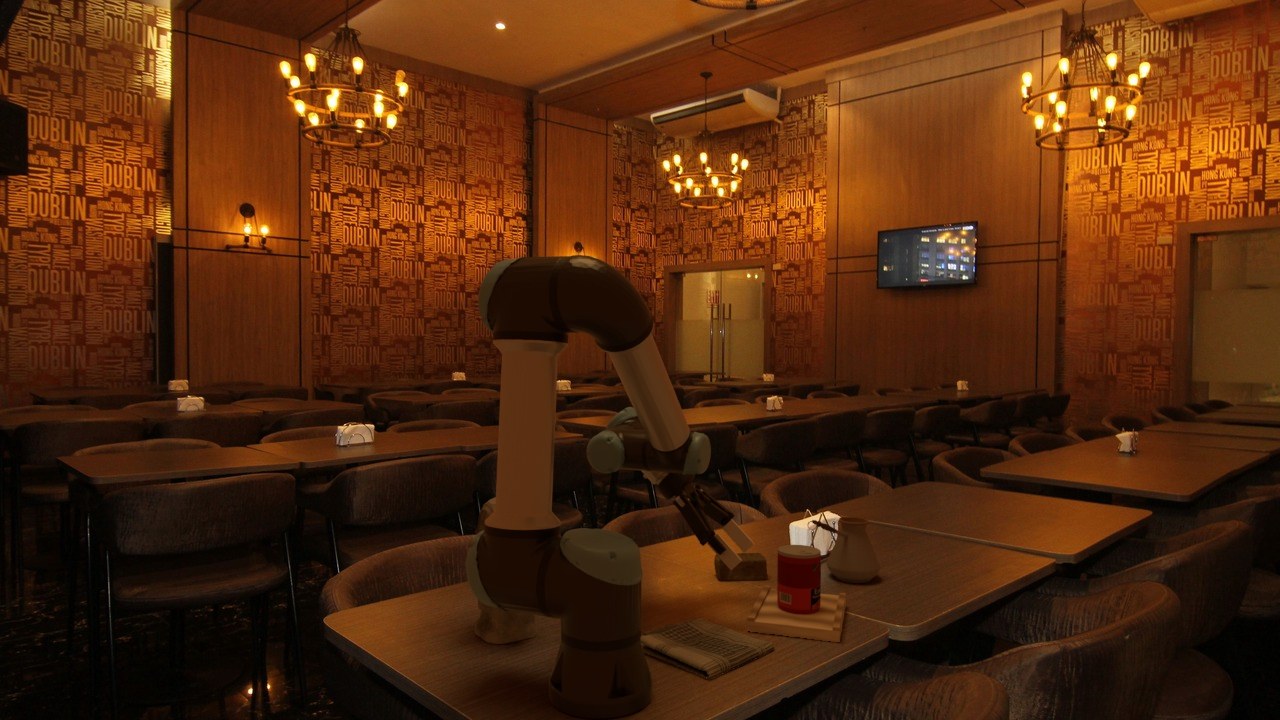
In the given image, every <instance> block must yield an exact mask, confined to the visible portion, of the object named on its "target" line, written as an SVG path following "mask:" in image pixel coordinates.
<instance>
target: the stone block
mask: <svg viewBox="0 0 1280 720" xmlns="http://www.w3.org/2000/svg"><path fill="white" fill-rule="evenodd" d="M735 553H736V552H735ZM736 554H737V555H738V556H739V557H740V558H741V559H742V561H741V562H740V563H739V564H738V565H737V566H736V567H734V568H733V569H732V570H730V569H729V568H728V567H727V565H726V564H725V563H724V562H723V561H722V560H721V559H720V558H719V556H718V555H717V554H716V553H715V555H714V562H713V563H714V570H715V574H716V577H717V579H718V580H719V581H722V582H723V581H724V582H732V581H733V582H736V581H739V582H740V581H764V580H765V581H766V580H767V579H768V567H767V566H768V565H767V558H766V557H765V556H764V555H763V554H762V553H761V552H745V553H744V552H740V553H739V552H738V553H736Z"/></svg>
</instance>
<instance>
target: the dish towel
mask: <svg viewBox="0 0 1280 720" xmlns="http://www.w3.org/2000/svg"><path fill="white" fill-rule="evenodd" d="M641 645H642V648H643V651H644V654H646V655H648V656H650V655H651V657H654V658H655V657H656V659H658V660H660V659H661V660H660V661H663V660H664V661H663V662H665V661H666V663H668V662H669V663H668V664H670V663H671V665H673V666H675V667H677V666H678V668H679V667H680V668H679V669H682V670H685V671H686V670H687V672H689V671H690V672H689V673H691V672H692V673H691V674H694V673H695V674H694V675H696V674H697V676H699V675H700V676H699V677H701V676H703V677H704V678H703V677H702V678H703V679H705V678H706V677H707V679H710V680H712V678H713V679H715V678H717V677H719V676H718V675H720V676H721V674H722V673H724V674H726V673H728V672H727V671H729V670H731V669H733V668H735V669H737V668H736V667H738V666H740V665H742V664H744V665H746V664H747V663H746V662H748V663H750V662H749V661H751V660H753V659H755V658H758V657H760V656H762V655H764V654H767V653H768V654H770V653H771V652H770V651H772V650H774V651H775V647H774V644H773V642H772V641H767V640H764V639H759V638H755V637H753V636H750V635H747V634H743V633H740V632H738V631H736V630H734V629H731V628H729V627H726V626H722V625H720V624H717V623H714V622H711V621H709V620H708V619H706V618H705V617H699V618H697V617H690V618H688V619H684V620H682V621H679V622H677V623H673V624H671V623H670V624H667V625H664V626H662V627H658V628H655V629H651V630H645V631H642V635H641ZM769 652H770V653H769ZM772 652H773V651H772ZM768 654H767V655H768ZM764 656H765V655H764ZM762 657H763V656H762ZM760 658H761V657H760ZM758 659H759V658H758ZM755 660H756V659H755ZM753 661H754V660H753ZM751 662H752V661H751ZM745 663H746V664H745ZM742 666H743V665H742ZM740 667H741V666H740ZM738 668H739V667H738ZM733 670H734V669H733ZM731 671H732V670H731ZM725 672H726V673H725ZM729 672H730V671H729ZM722 675H723V674H722ZM716 676H717V677H716ZM714 677H715V678H714ZM707 679H706V680H707Z"/></svg>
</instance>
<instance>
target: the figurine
mask: <svg viewBox="0 0 1280 720" xmlns="http://www.w3.org/2000/svg"><path fill="white" fill-rule="evenodd" d="M495 507H496V496H495V497H493V498H490V499H489V500H488V501H487V502H485V503H483V506H482V507H481V509H480V512H479V515H478V521H477V524H476V525H477V526H476V529H475V531H474V533H475V535H477V534H478V533H479V532H480V531H482V530H484V526H485V520H486V519H487V518H488V517H489V516H490V515H491V514H492V513H493V512H494V511H495ZM477 607H478V609H479V610H481V611H480V615H479V618H478V619H477V620H476V621H475V625H474V634H475V635H476V636H477V637H479V638H480V639H481V640H483V641H484V642H485V643H487V644H493V645H494V644H495V645H500V644H501V645H504V644H509V643H513V642H520V641H523V640H526V639H531V638H534V637H535V636H538V635H539V627H538V625H537V624H536V623H535V622H536V621H535V620H536V615H533V614H527V613H521V612H515V611H510V612H508V611H503V610H500V609H498V608H495V607H491V606H487V605H485V604H483V603H481V602H480V601H479V600H478V599H477Z"/></svg>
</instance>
